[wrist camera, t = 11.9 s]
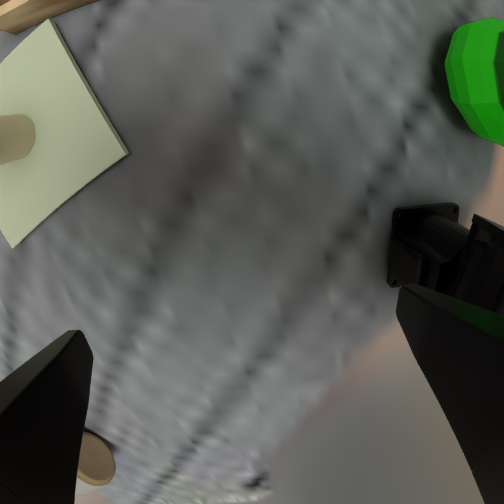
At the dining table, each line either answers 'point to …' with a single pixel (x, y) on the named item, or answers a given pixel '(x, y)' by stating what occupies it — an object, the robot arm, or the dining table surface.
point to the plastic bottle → (478, 76)
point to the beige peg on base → (47, 132)
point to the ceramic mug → (94, 465)
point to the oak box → (33, 12)
